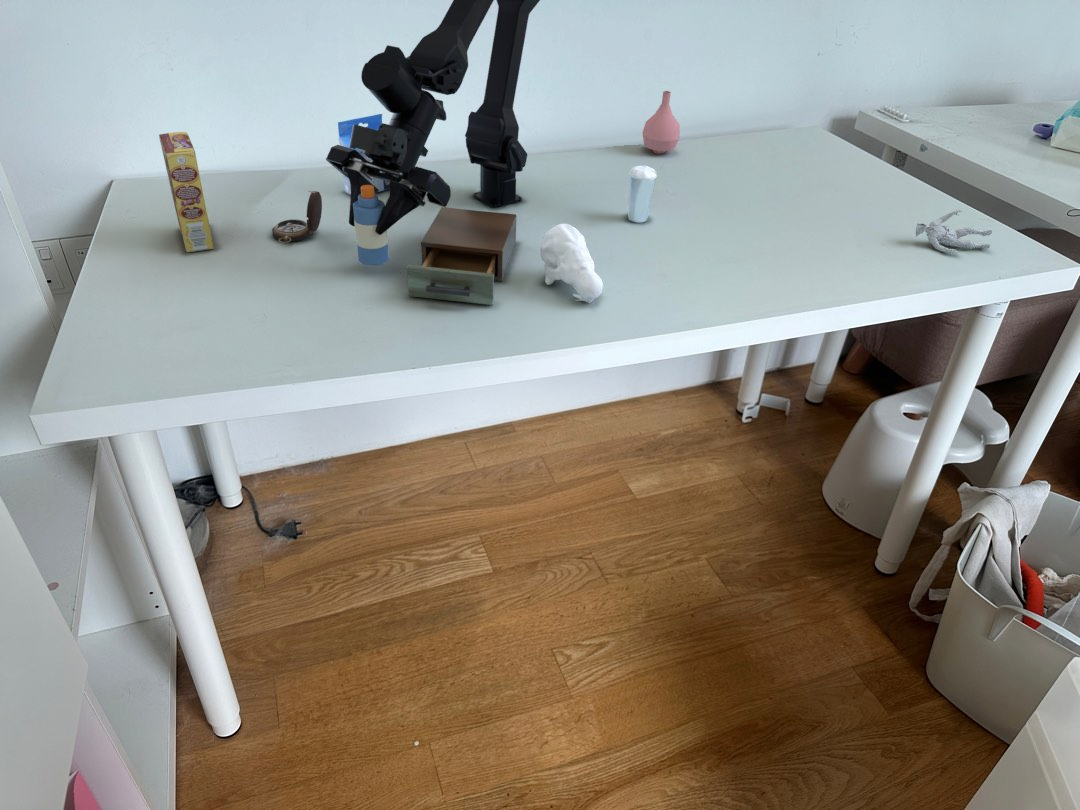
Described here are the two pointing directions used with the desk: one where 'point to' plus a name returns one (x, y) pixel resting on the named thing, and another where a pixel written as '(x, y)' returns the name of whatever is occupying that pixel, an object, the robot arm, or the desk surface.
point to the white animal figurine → (570, 261)
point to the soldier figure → (950, 235)
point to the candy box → (186, 190)
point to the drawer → (454, 276)
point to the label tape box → (344, 140)
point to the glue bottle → (369, 228)
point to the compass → (301, 222)
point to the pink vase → (662, 128)
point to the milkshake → (640, 192)
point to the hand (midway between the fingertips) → (364, 229)
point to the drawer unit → (473, 234)
